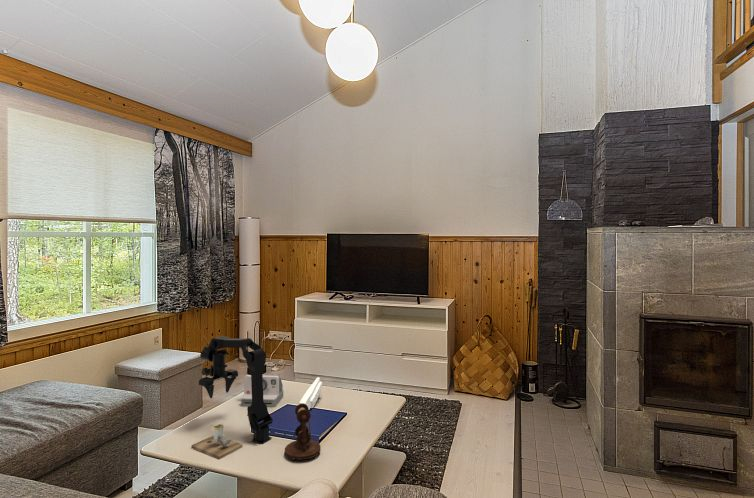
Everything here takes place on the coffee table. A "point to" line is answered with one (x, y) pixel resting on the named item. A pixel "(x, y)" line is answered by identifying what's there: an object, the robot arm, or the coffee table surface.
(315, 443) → the brown wooden tall piece
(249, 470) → the coffee table surface
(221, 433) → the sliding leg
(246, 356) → the robot arm
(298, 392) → the coffee table surface
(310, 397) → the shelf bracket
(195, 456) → the coffee table surface
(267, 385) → the instant camera
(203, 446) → the hole plate
